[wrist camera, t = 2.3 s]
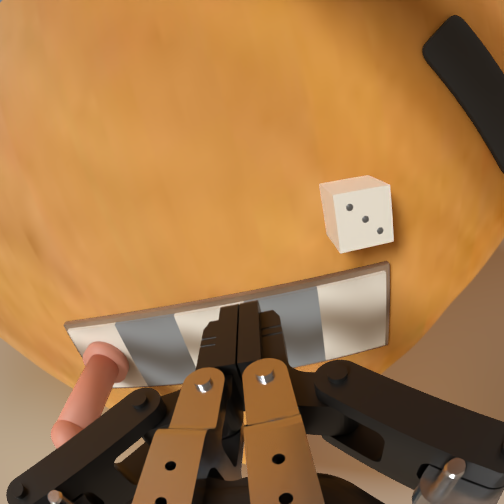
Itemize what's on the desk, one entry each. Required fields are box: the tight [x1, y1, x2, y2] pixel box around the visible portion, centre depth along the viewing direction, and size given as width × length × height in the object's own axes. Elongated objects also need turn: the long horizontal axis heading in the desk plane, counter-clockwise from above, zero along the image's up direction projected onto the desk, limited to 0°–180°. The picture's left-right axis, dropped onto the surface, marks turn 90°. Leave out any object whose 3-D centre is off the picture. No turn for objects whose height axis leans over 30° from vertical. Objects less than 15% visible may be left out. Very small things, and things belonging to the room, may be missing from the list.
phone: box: [422, 15, 504, 173], centre depth 19 cm, size 7×1×15 cm
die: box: [319, 175, 394, 253], centre depth 21 cm, size 4×4×4 cm
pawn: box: [51, 341, 129, 448], centre depth 22 cm, size 5×5×12 cm
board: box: [64, 261, 390, 388], centre depth 27 cm, size 9×31×1 cm, turn 102°
